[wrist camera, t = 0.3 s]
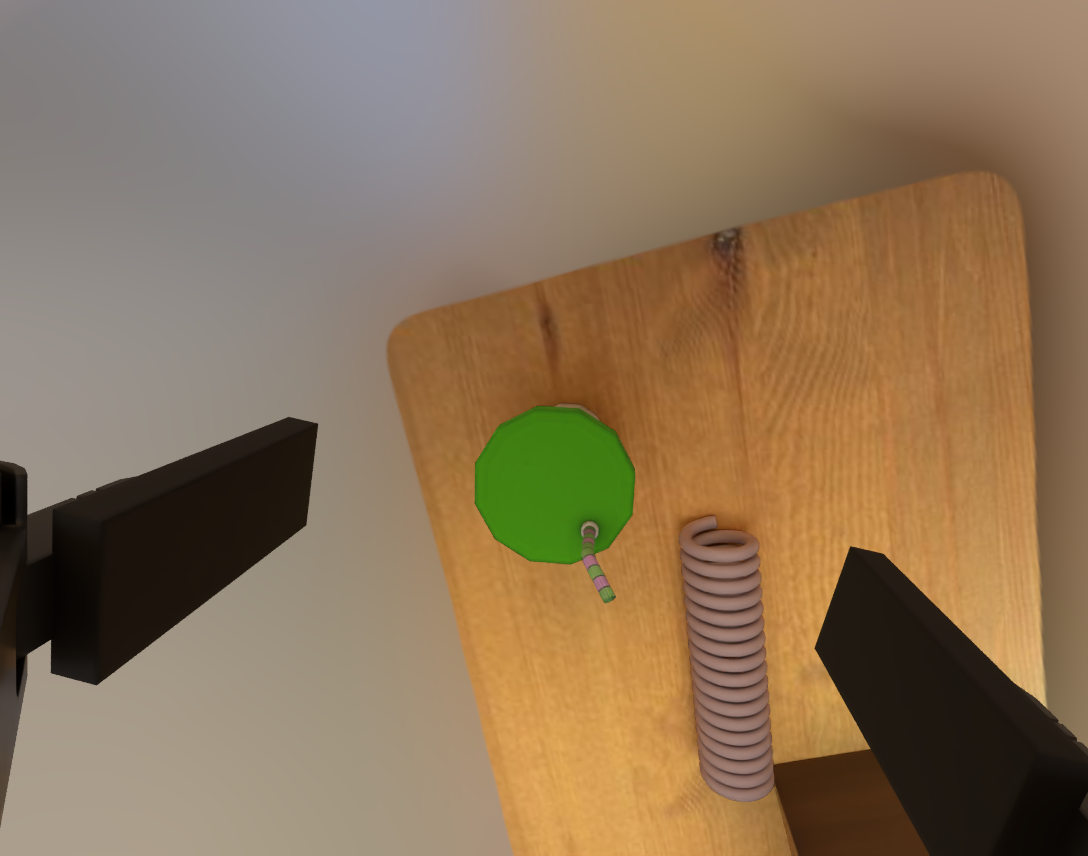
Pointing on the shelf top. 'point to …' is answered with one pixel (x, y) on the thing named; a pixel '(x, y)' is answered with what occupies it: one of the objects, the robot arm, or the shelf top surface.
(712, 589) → the coil
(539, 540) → the cup
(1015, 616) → the shelf top surface
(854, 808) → the stand
